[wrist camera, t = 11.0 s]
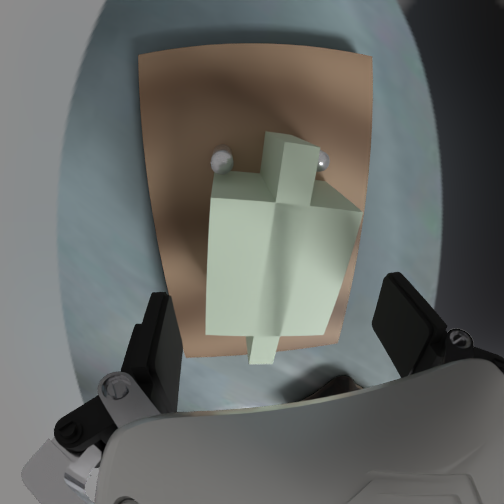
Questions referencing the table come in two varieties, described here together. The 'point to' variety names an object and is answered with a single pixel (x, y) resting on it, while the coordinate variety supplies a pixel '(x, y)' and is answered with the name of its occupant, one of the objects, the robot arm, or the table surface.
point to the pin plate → (244, 152)
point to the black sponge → (335, 388)
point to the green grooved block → (276, 248)
